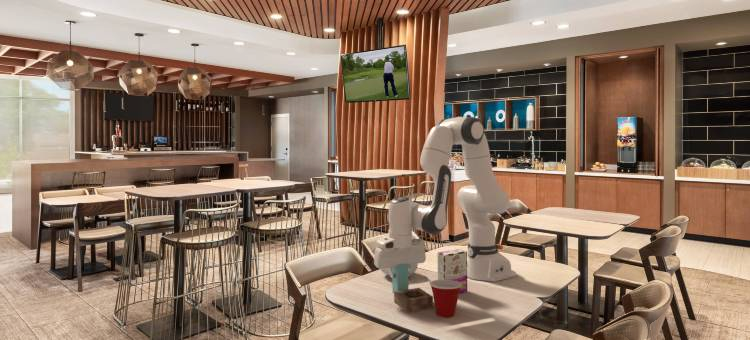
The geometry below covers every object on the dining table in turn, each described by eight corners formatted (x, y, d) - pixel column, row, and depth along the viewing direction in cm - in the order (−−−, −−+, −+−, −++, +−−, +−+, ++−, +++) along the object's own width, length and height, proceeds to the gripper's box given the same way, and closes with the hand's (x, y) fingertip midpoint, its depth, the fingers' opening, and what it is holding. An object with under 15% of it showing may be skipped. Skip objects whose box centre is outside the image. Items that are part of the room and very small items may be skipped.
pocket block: (419, 300, 173) (419, 287, 172) (432, 310, 163) (432, 296, 163) (394, 304, 169) (394, 291, 168) (406, 315, 160) (406, 301, 159)
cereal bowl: (424, 273, 205) (424, 258, 205) (406, 284, 191) (406, 267, 191) (391, 268, 214) (391, 252, 214) (371, 277, 200) (371, 261, 200)
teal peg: (403, 291, 179) (403, 260, 178) (408, 294, 174) (408, 263, 173) (392, 292, 177) (392, 261, 176) (397, 296, 173) (397, 264, 172)
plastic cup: (461, 311, 162) (461, 278, 161) (462, 324, 152) (462, 288, 151) (430, 309, 164) (430, 276, 163) (428, 322, 154) (428, 286, 153)
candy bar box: (459, 288, 186) (460, 248, 184) (467, 292, 181) (468, 251, 180) (436, 293, 181) (436, 251, 179) (444, 297, 176) (444, 254, 175)
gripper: (420, 236, 181) (420, 270, 182) (372, 241, 173) (372, 277, 174) (428, 239, 175) (428, 275, 176) (378, 245, 167) (379, 282, 168)
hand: (400, 276), depth 175 cm, fingers closed on teal peg, 4 cm apart
